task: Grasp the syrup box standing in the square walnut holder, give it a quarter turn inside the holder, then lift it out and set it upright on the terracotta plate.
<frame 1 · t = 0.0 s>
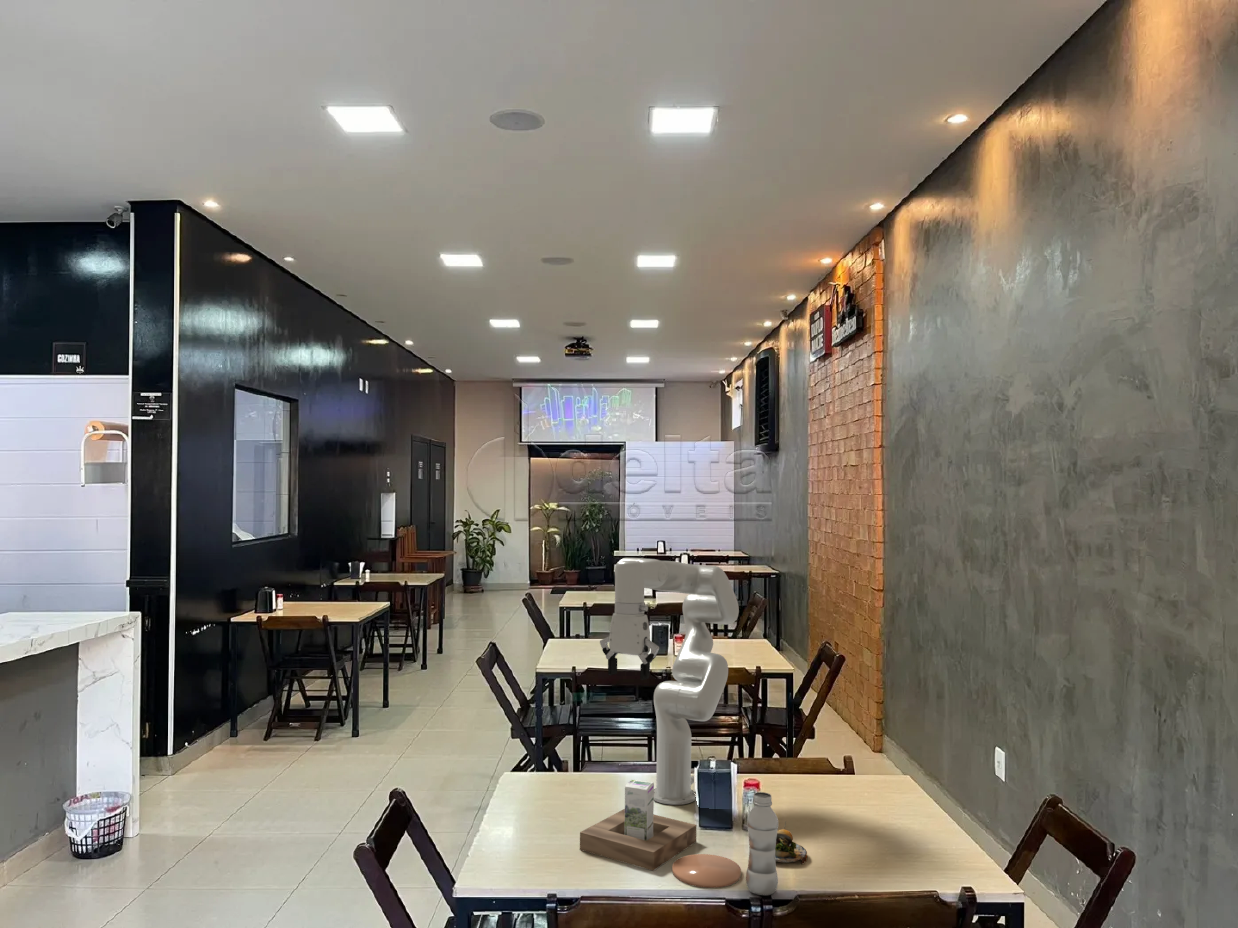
hand: (628, 676, 217), 37 cm above the table, tool pointing down, fingers open, 9 cm apart
plate: (706, 872, 187), on the table
syrup box: (638, 846, 202), resting in holder
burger: (781, 858, 197), on the table
holder: (638, 845, 202), on the table
plastic bottle: (761, 893, 178), on the table
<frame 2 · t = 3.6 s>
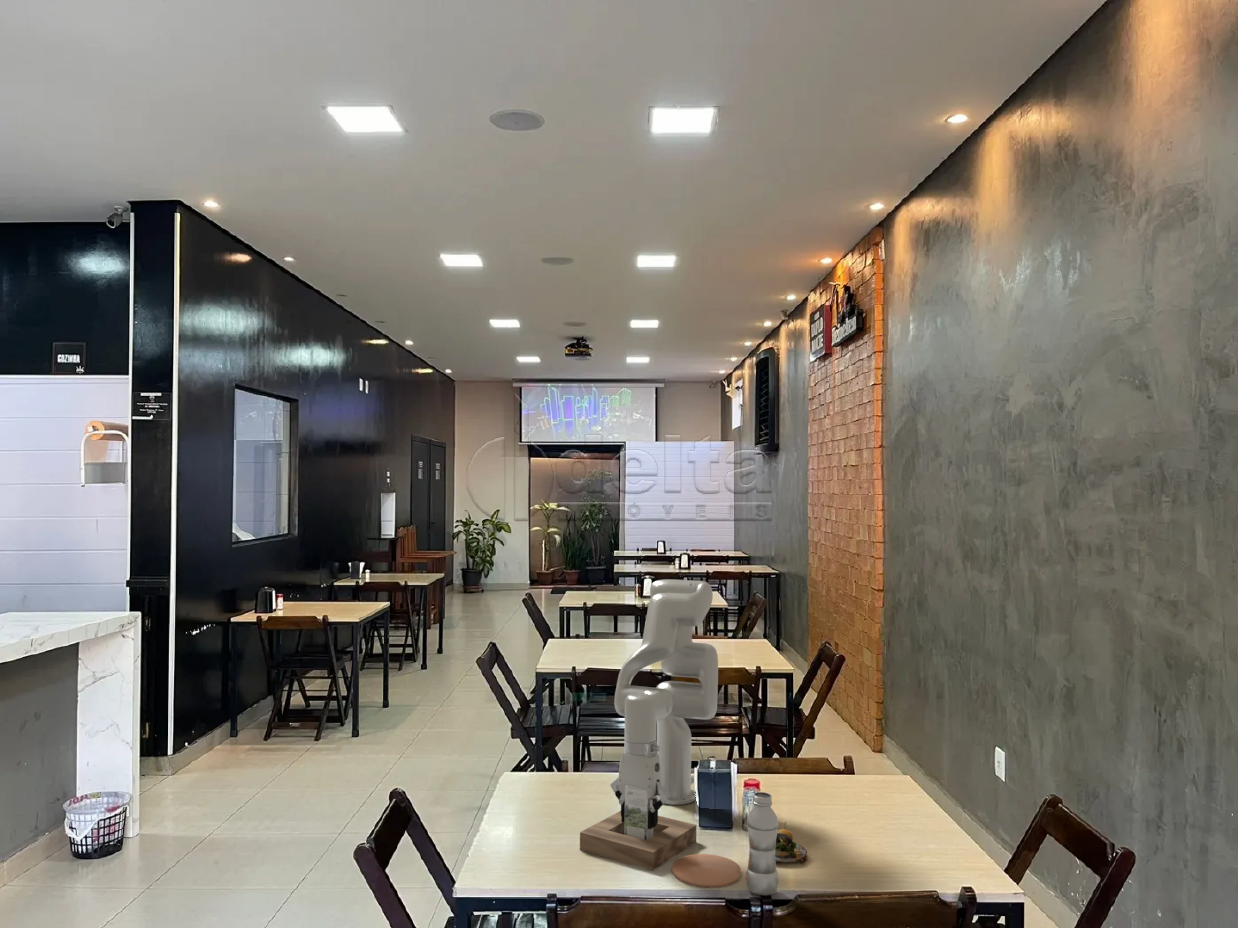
hand: (639, 823, 202), 5 cm above the table, tool pointing down, fingers closed on syrup box, 6 cm apart
syrup box: (638, 846, 202), resting in holder, touching gripper
everything else where it was.
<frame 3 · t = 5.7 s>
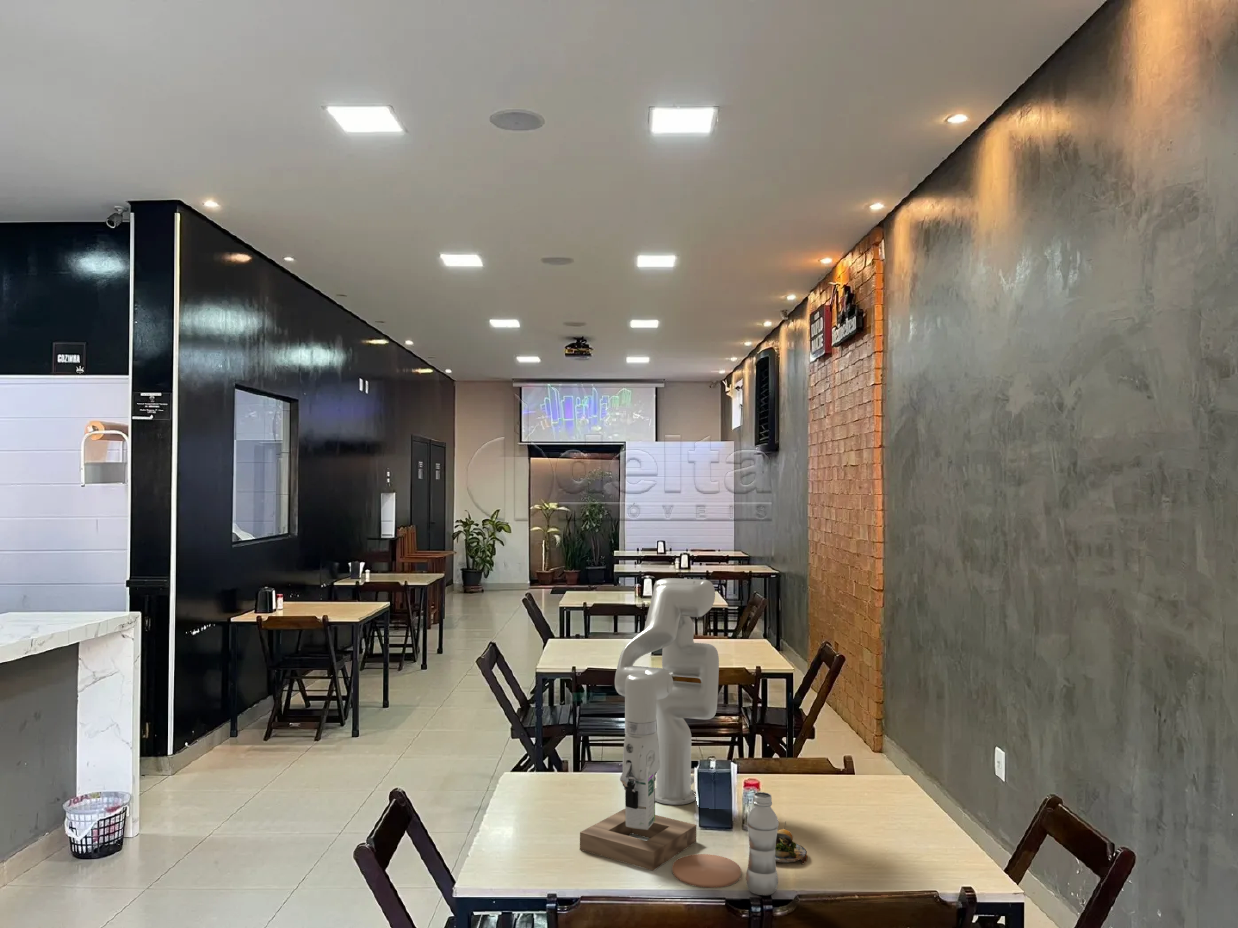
hand: (640, 801, 203), 10 cm above the table, tool pointing down, fingers closed on syrup box, 6 cm apart
syrup box: (640, 825, 203), point 4 cm above the table, touching gripper
everything else where it was.
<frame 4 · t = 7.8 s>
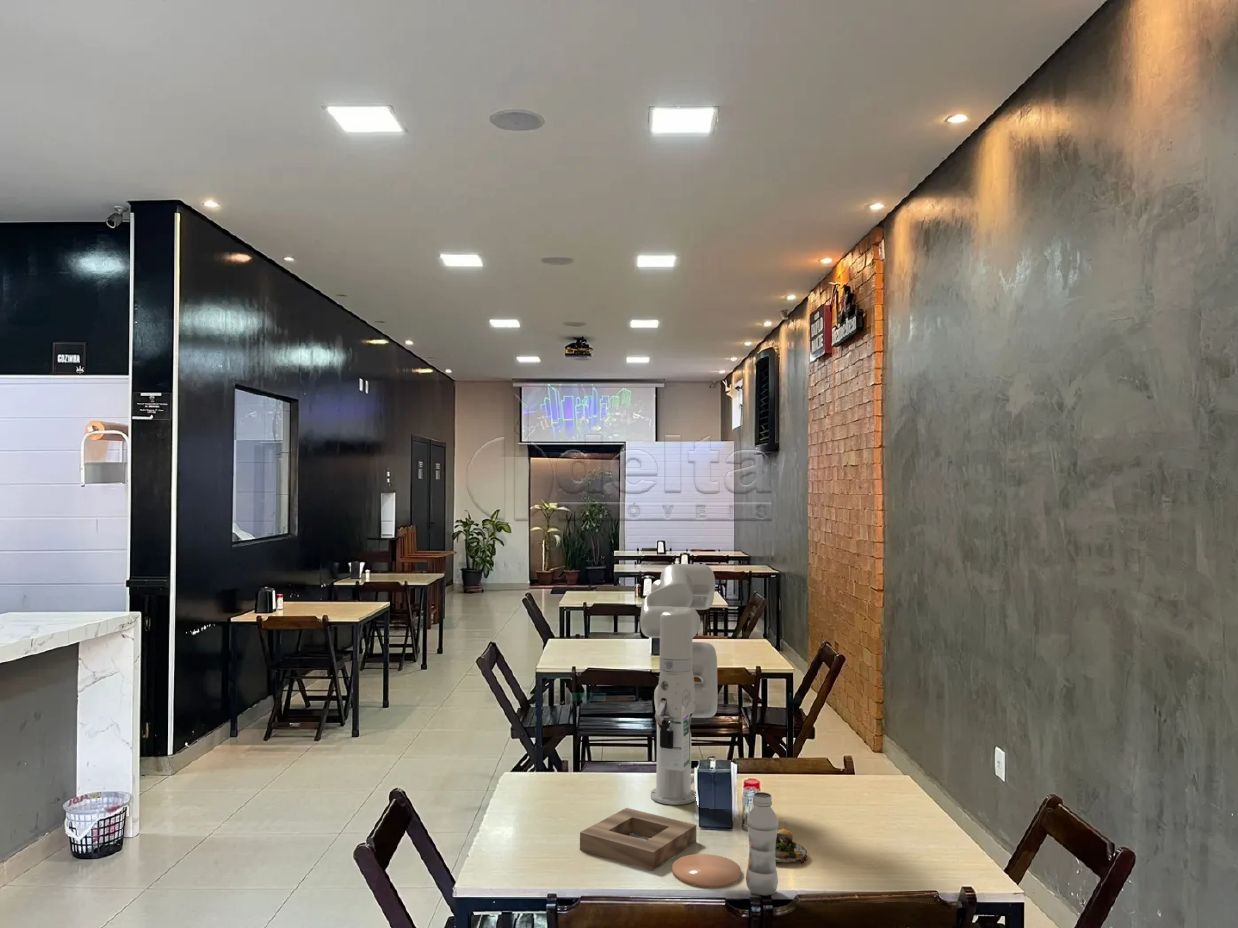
hand: (674, 743, 195), 26 cm above the table, tool pointing down, fingers closed on syrup box, 6 cm apart
syrup box: (674, 767, 195), point 21 cm above the table, touching gripper
everything else where it was.
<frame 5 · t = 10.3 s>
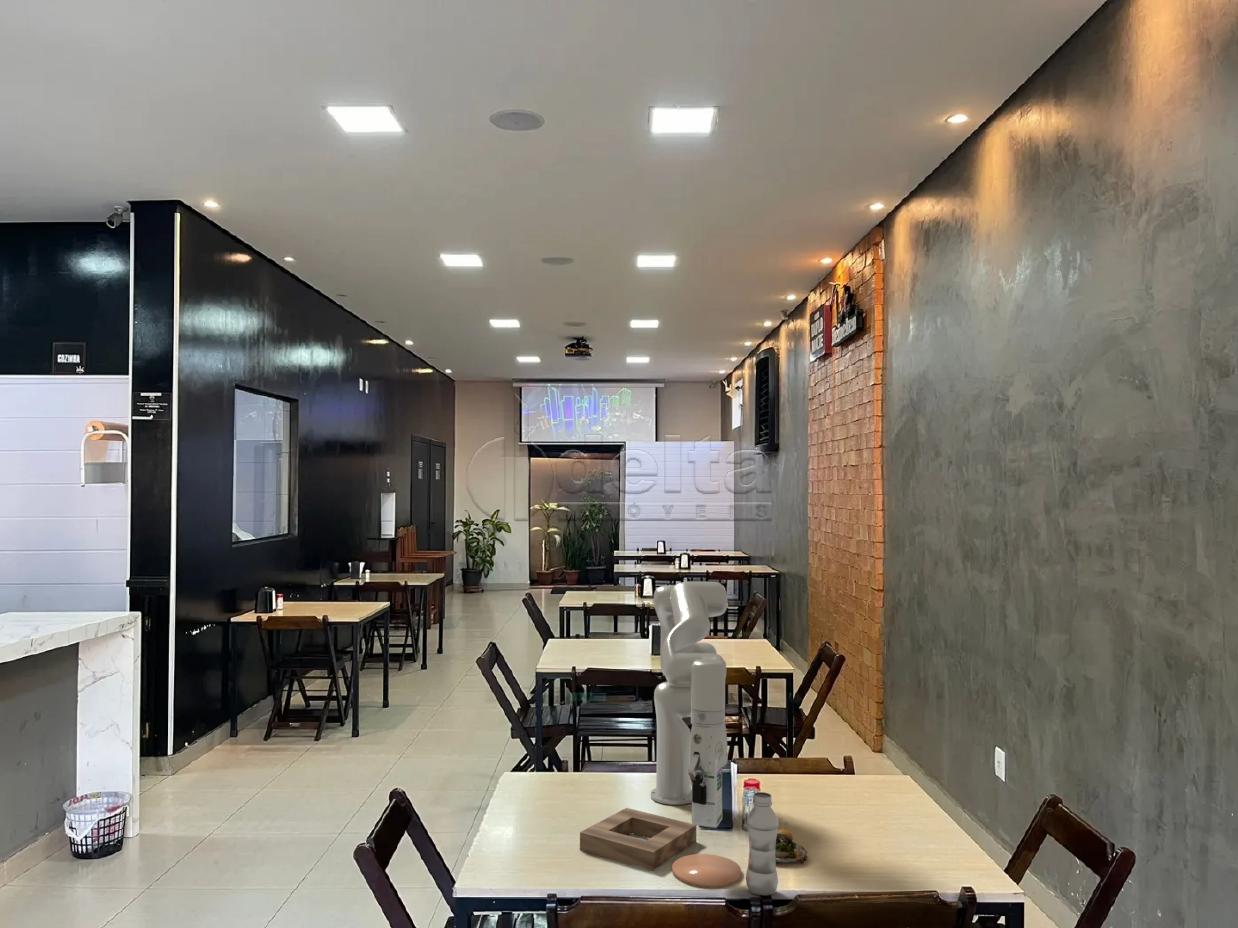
hand: (707, 797, 188), 16 cm above the table, tool pointing down, fingers closed on syrup box, 6 cm apart
syrup box: (706, 822, 188), point 11 cm above the table, touching gripper
everything else where it was.
when the fingers open (7 cm above the table, at t = 12.4 s): syrup box drops 1 cm, resting on plate.
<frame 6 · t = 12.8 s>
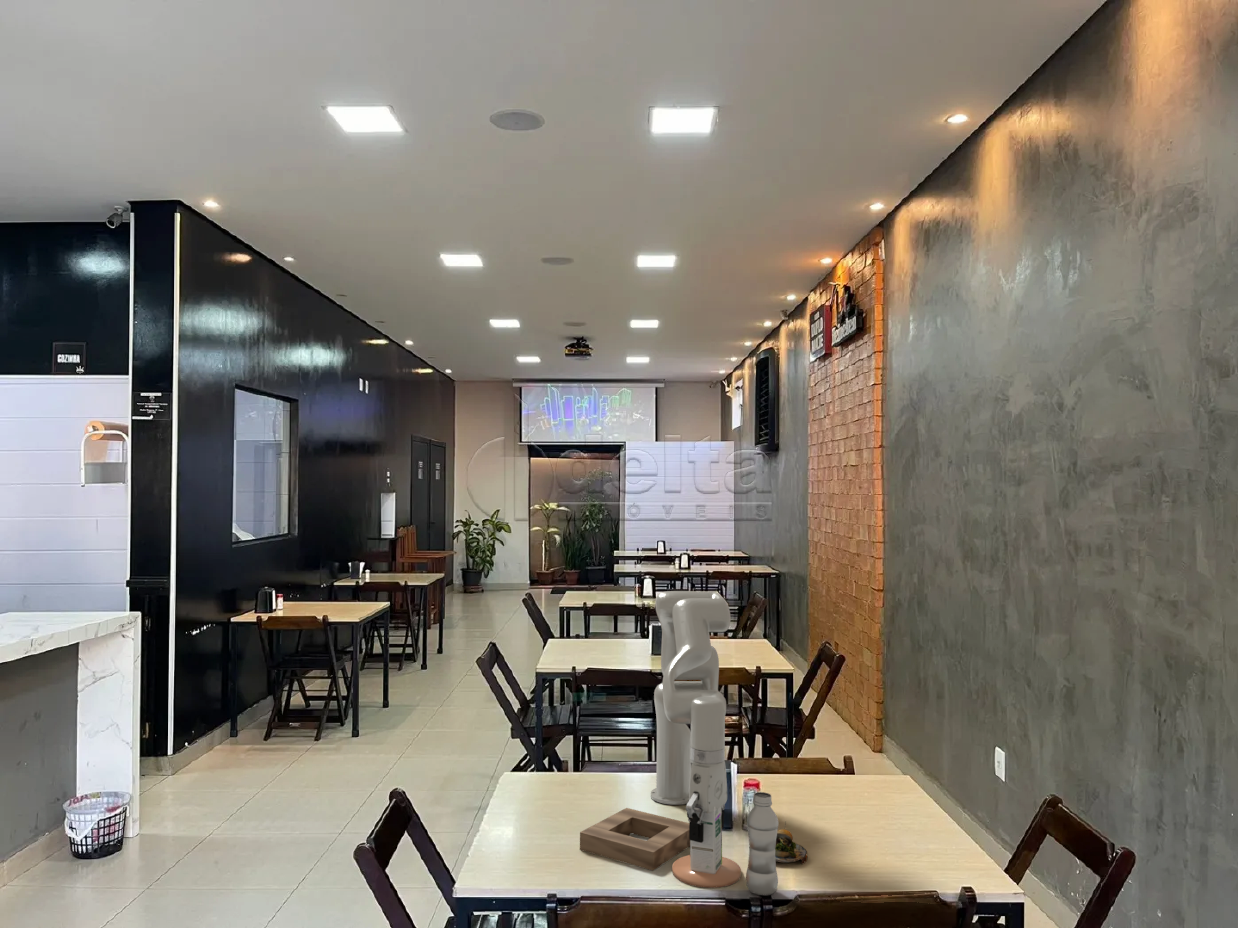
hand: (706, 833, 188), 8 cm above the table, tool pointing down, fingers open, 9 cm apart
syrup box: (705, 868, 187), point 1 cm above the table, touching plate
everything else where it was.
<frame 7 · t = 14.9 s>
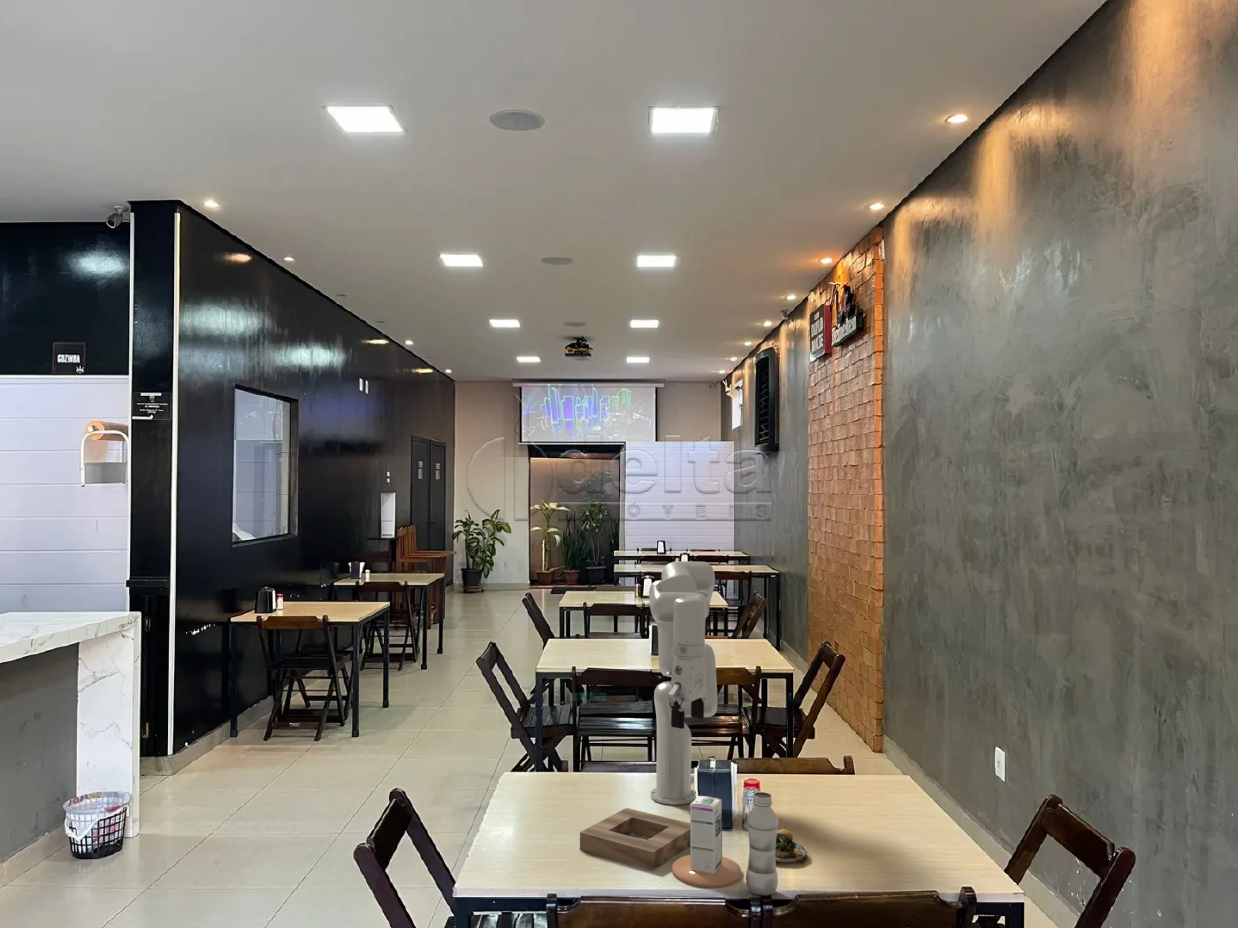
hand: (687, 722, 202), 29 cm above the table, tool pointing down, fingers open, 9 cm apart
nothing on the table moved.
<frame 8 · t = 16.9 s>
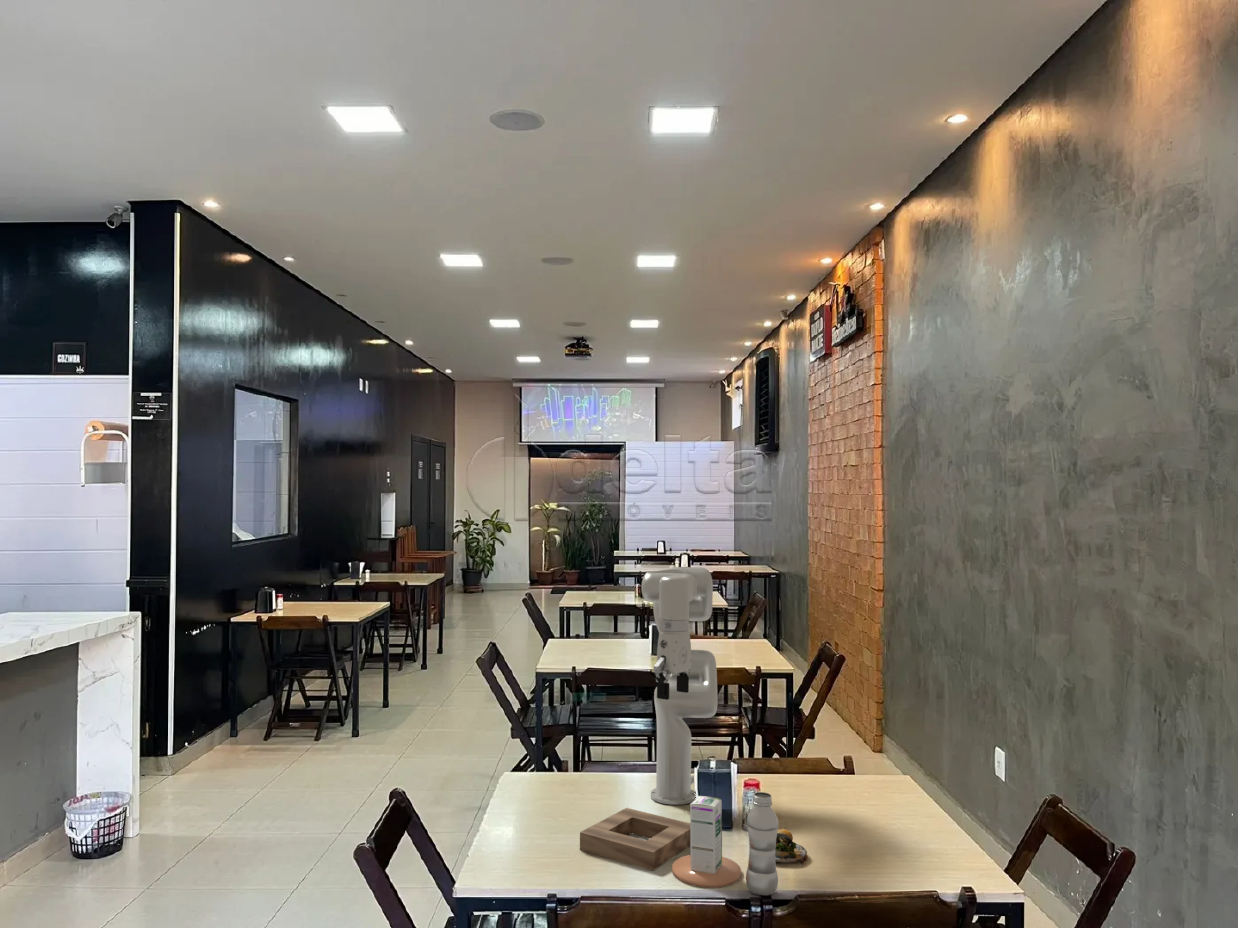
hand: (672, 695, 212), 33 cm above the table, tool pointing down, fingers open, 9 cm apart
nothing on the table moved.
at the end: syrup box inside the target area on the plate (0.2 cm from its centre), point 0.8 cm above the plate's base; syrup box tilted 0°; the gripper is holding nothing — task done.
